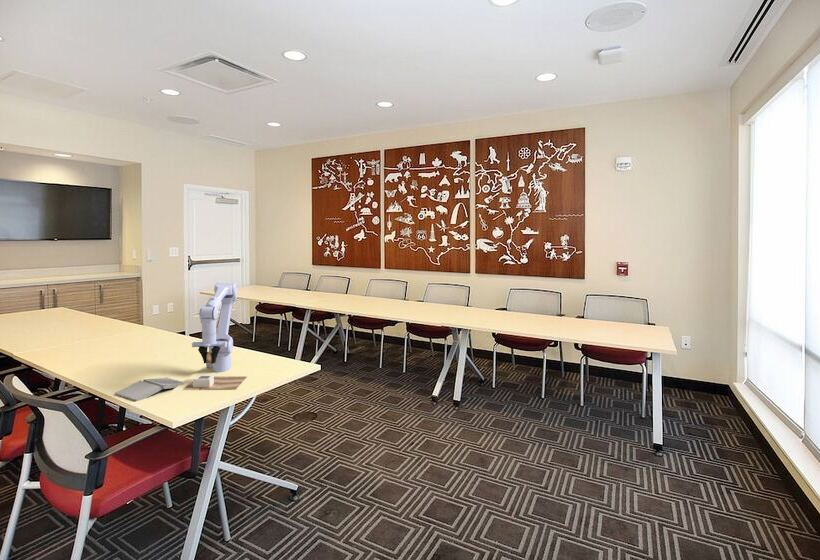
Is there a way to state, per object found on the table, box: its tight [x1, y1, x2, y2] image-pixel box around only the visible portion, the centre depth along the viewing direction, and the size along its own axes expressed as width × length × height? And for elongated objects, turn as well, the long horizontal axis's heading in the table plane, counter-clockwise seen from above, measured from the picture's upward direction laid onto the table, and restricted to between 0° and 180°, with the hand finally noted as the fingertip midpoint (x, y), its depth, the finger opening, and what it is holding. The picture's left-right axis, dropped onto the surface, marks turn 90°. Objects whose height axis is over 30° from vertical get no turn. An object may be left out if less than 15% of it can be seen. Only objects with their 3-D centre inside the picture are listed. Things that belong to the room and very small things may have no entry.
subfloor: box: [182, 375, 248, 391], centre depth 200 cm, size 18×22×1 cm
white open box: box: [192, 375, 214, 387], centre depth 196 cm, size 5×7×4 cm
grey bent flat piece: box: [114, 377, 185, 402], centre depth 193 cm, size 23×15×4 cm, turn 151°
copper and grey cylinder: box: [205, 351, 214, 370], centre depth 202 cm, size 3×3×7 cm
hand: (209, 362), depth 202 cm, fingers closed on copper and grey cylinder, 3 cm apart
